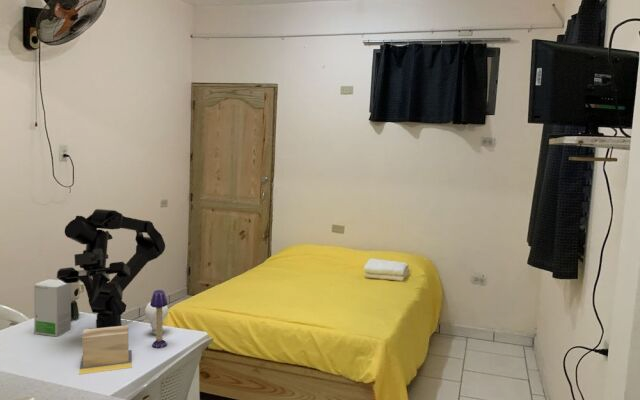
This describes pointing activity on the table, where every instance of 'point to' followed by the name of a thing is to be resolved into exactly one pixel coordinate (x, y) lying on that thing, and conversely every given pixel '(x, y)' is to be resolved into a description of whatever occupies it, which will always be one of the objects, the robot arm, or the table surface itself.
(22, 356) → the table surface
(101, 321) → the robot arm
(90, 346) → the pine block
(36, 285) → the skincare box
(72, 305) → the character mug
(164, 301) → the toy lamp
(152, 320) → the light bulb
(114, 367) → the gray board
